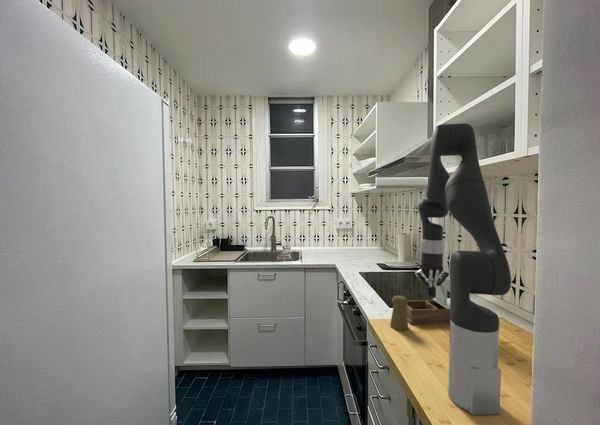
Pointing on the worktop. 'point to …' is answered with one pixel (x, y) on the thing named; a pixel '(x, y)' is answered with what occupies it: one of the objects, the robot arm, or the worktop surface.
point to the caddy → (426, 312)
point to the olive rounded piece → (399, 313)
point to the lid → (442, 296)
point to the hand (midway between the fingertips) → (430, 296)
